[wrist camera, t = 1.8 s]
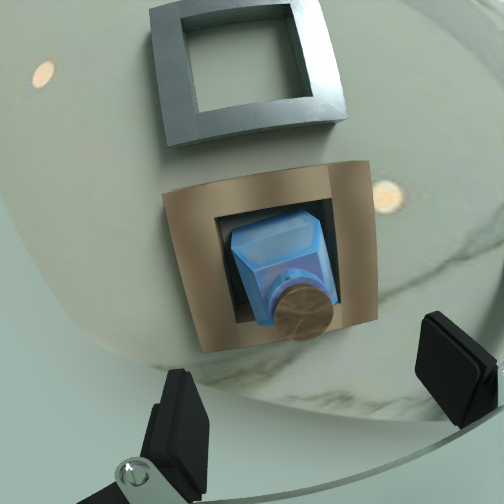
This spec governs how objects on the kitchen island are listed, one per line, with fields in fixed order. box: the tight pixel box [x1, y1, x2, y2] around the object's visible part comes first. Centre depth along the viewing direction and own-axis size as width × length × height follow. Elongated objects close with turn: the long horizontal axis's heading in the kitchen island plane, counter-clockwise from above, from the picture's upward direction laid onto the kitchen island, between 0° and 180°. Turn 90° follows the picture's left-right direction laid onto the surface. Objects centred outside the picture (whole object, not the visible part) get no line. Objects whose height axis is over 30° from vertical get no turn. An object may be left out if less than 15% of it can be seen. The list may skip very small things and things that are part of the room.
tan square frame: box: [162, 161, 378, 353], centre depth 25 cm, size 16×14×4 cm
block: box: [149, 0, 348, 149], centre depth 20 cm, size 14×13×3 cm
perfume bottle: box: [231, 208, 338, 341], centre depth 21 cm, size 6×6×12 cm
